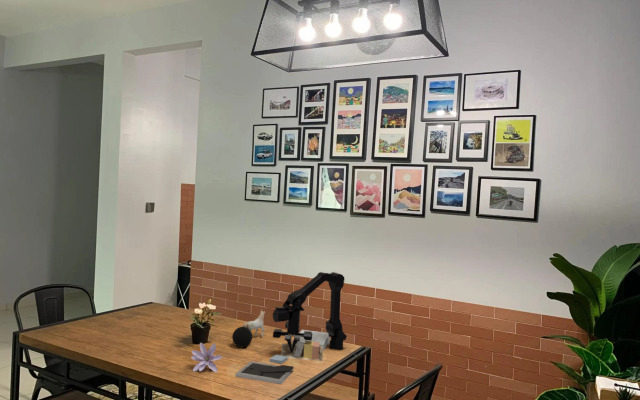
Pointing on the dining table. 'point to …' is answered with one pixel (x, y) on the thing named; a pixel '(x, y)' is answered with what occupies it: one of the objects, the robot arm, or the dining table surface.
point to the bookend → (298, 350)
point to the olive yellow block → (308, 349)
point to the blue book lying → (278, 359)
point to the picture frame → (265, 372)
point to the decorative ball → (242, 336)
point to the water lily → (205, 358)
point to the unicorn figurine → (256, 324)
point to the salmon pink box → (315, 350)
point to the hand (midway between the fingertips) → (291, 352)
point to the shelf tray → (290, 355)
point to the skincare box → (316, 338)
